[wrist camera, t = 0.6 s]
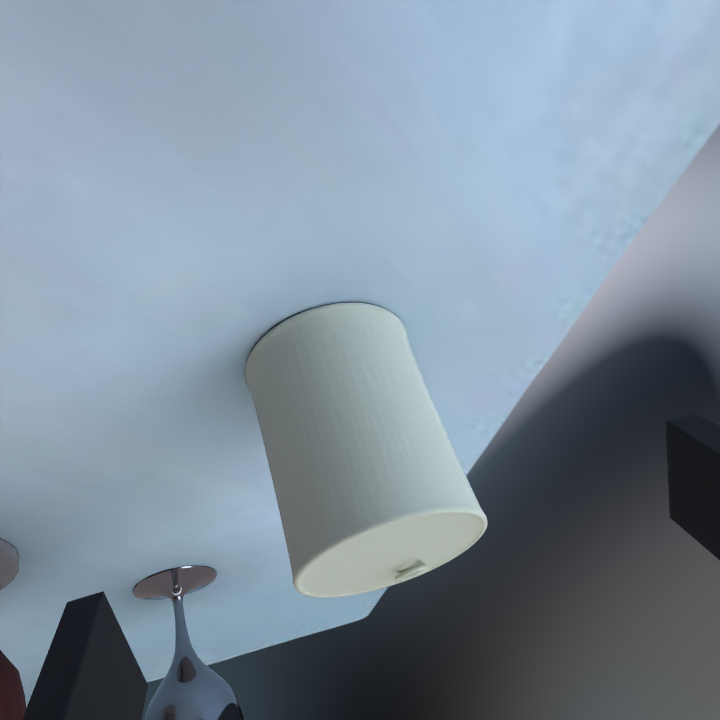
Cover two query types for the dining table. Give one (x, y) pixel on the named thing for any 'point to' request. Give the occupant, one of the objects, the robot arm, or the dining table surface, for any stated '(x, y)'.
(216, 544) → the dining table surface
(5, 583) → the mate gourd
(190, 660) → the wine glass
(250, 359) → the can
